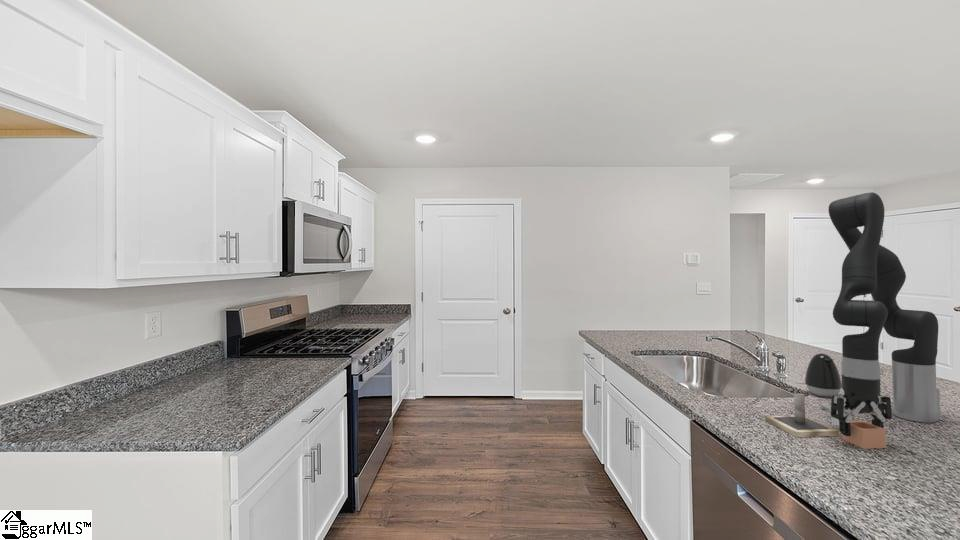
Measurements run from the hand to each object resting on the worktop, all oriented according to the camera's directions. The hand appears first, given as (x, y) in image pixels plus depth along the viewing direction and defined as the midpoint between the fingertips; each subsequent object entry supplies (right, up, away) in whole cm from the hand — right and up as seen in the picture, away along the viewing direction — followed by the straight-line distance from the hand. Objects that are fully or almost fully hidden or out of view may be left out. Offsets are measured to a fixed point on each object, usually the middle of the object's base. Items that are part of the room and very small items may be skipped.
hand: (861, 434), depth 106 cm
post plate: (-8, -3, +11) cm, 13 cm away
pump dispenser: (+24, -2, +39) cm, 46 cm away
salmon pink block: (0, -2, 0) cm, 2 cm away
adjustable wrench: (+9, -3, +18) cm, 20 cm away
